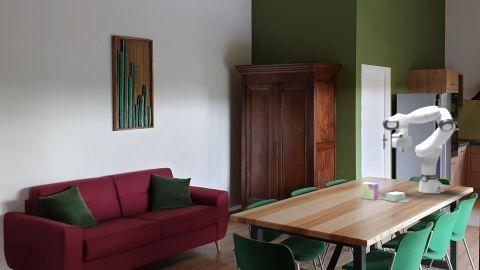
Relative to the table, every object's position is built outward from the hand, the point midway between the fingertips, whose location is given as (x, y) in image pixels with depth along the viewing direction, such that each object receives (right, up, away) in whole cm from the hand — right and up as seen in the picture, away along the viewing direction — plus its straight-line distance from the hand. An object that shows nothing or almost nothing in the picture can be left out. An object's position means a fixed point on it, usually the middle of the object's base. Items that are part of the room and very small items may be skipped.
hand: (401, 153), depth 395 cm
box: (-26, -34, -8) cm, 44 cm away
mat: (-9, -34, -16) cm, 39 cm away
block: (-5, -31, -12) cm, 34 cm away
